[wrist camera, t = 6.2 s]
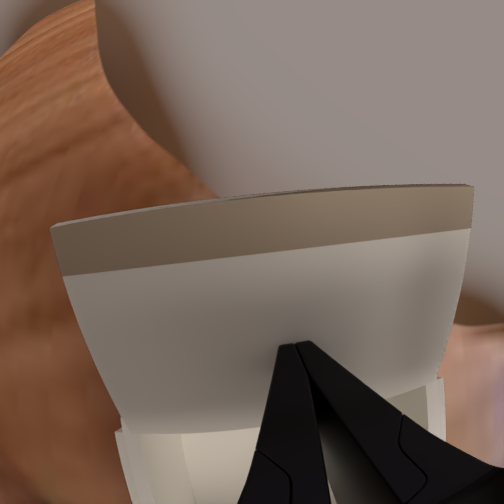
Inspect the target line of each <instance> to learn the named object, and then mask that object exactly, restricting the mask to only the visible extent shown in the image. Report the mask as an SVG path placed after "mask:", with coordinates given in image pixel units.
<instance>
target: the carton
mask: <svg viewBox="0 0 504 504" xmlns="http://www.w3.org/2000/svg"><path fill="white" fill-rule="evenodd" d="M385 400H387V401H388V402H389V403H391V404H392V405H393V406H394V407H396V408H397V409H398V410H400V411H401V412H402V415H403V414H405V415H407V416H408V417H409V418H410V419H412V420H413V421H414V422H416V423H417V424H419V425H420V426H422V427H423V428H424V429H426V430H427V431H429V432H430V433H432V434H433V435H435V436H437V437H438V438H440V439H442V440H444V441H445V442H446V418H445V397H444V383H443V377H437V375H436V378H435V381H434V382H432V383H429V384H427V385H424V386H421V387H419V388H416V389H413V390H411V391H408V392H405V393H402V394H399V395H396V396H393V397H390V398H387V399H385ZM120 419H121V425H122V428H120V429H118V430H117V431H115V437H116V442H117V447H118V451H119V455H120V460H121V464H122V468H123V472H124V476H125V479H126V483H127V487H128V490H129V493H130V497H131V500H132V503H133V504H237V502H238V500H239V497H240V495H241V492H242V490H243V487H244V485H245V482H246V479H247V476H248V473H249V469H250V466H251V462H252V458H253V454H254V451H255V447H256V443H257V439H258V435H259V431H260V427H257V428H249V429H241V430H231V431H220V432H207V433H188V434H131V433H130V431H129V429H128V428H127V426H126V424H125V422H124V421H123V419H122V417H121V418H120ZM328 485H329V491H330V497H331V503H332V504H337V503H336V500H335V498H334V495H333V492H332V490H331V487H330V484H329V482H328Z"/></svg>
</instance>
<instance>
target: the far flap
mask: <svg viewBox="0 0 504 504" xmlns="http://www.w3.org/2000/svg"><path fill="white" fill-rule="evenodd" d="M473 197H474V186H470V185H466V184H410V185H382V186H381V185H380V186H358V187H340V188H324V189H310V190H297V191H285V192H275V193H263V194H253V195H243V196H234V197H225V198H216V199H208V200H200V201H192V202H184V203H177V204H169V205H162V206H155V207H148V208H142V209H135V210H129V211H123V212H117V213H111V214H105V215H99V216H93V217H88V218H82V219H77V220H72V221H67V222H61V223H57V224H55V225H54V226H52V227H50V228H49V229H50V234H51V238H52V242H53V246H54V250H55V254H56V258H57V261H58V265H59V268H60V272H61V275H62V277H63V280H64V284H65V287H66V290H67V293H68V296H69V299H70V302H71V305H72V308H73V311H74V313H75V316H76V319H77V322H78V324H79V327H80V329H81V332H82V335H83V337H84V339H85V342H86V344H87V347H88V349H89V352H90V354H91V356H92V358H93V361H94V363H95V365H96V367H97V370H98V372H99V374H100V376H101V378H102V380H103V382H104V384H105V386H106V388H107V390H108V392H109V394H110V396H111V398H112V400H113V402H114V404H115V406H116V408H117V410H118V411H119V413H120V415H121V417H122V419H123V421H124V422H125V424H126V426H127V428H128V429H129V431H130V433H131V434H188V433H207V432H220V431H231V430H241V429H249V428H257V427H261V423H262V418H263V414H264V410H265V405H266V401H267V397H268V392H269V388H270V383H271V379H272V374H273V369H274V365H275V360H276V355H277V350H278V347H279V345H282V344H288V343H293V344H295V343H296V342H301V341H307V340H310V341H312V342H313V343H314V344H316V345H317V346H318V347H319V348H321V349H322V350H323V351H324V352H326V353H327V354H328V355H329V356H331V357H332V358H333V359H334V360H336V361H337V362H338V363H339V364H341V365H342V366H343V367H344V368H346V369H347V370H348V371H349V372H351V373H352V374H353V375H354V376H356V377H357V378H358V379H360V380H361V381H362V382H363V383H365V384H366V385H367V386H369V387H370V388H371V389H372V390H374V391H375V392H376V393H378V394H379V395H380V396H381V397H383V398H384V399H387V398H390V397H393V396H396V395H399V394H402V393H405V392H408V391H411V390H413V389H416V388H419V387H421V386H424V385H427V384H429V383H432V382H434V381H435V378H436V375H437V373H438V370H439V367H440V364H441V361H442V358H443V355H444V352H445V348H446V345H447V342H448V339H449V335H450V331H451V328H452V324H453V320H454V316H455V312H456V308H457V304H458V300H459V295H460V290H461V286H462V280H463V275H464V269H465V264H466V258H467V251H468V244H469V236H470V228H471V222H472V211H473Z"/></svg>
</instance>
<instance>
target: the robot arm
mask: <svg viewBox="0 0 504 504" xmlns="http://www.w3.org/2000/svg"><path fill="white" fill-rule="evenodd" d="M328 482H329V484H330V487H331V490H332V492H333V495H334V498H335V500H336V503H337V504H504V468H500V467H496V466H492V465H489V464H487V463H485V462H483V461H481V460H479V459H477V458H475V457H473V456H471V455H469V454H467V453H465V452H463V451H462V450H460V449H458V448H456V447H454V446H452V445H451V444H449V443H447V442H445V441H444V440H442V439H440V438H438V437H437V436H435V435H433V434H432V433H430V432H429V431H427V430H426V429H424V428H423V427H422V426H420V425H419V424H417V423H416V422H414V421H413V420H412V419H410V418H409V417H408V416H407V415H405V414H403V415H402V412H401V411H400V410H398V409H397V408H396V407H394V406H393V405H392V404H391V403H389V402H388V401H387V400H385V399H384V398H383V397H381V396H380V395H379V394H378V393H376V392H375V391H374V390H372V389H371V388H370V387H369V386H367V385H366V384H365V383H363V382H362V381H361V380H360V379H358V378H357V377H356V376H354V375H353V374H352V373H351V372H349V371H348V370H347V369H346V368H344V367H343V366H342V365H341V364H339V363H338V362H337V361H336V360H334V359H333V358H332V357H331V356H329V355H328V354H327V353H326V352H324V351H323V350H322V349H321V348H319V347H318V346H317V345H316V344H314V343H313V342H312V341H310V340H307V341H301V342H296V343H295V344H293V343H288V344H282V345H279V347H278V350H277V355H276V360H275V365H274V369H273V374H272V379H271V383H270V388H269V392H268V397H267V401H266V405H265V410H264V414H263V418H262V423H261V427H260V431H259V435H258V439H257V443H256V447H255V451H254V454H253V458H252V462H251V466H250V469H249V473H248V476H247V479H246V482H245V485H244V487H243V490H242V492H241V495H240V497H239V500H238V502H237V504H332V503H331V497H330V491H329V485H328Z"/></svg>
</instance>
